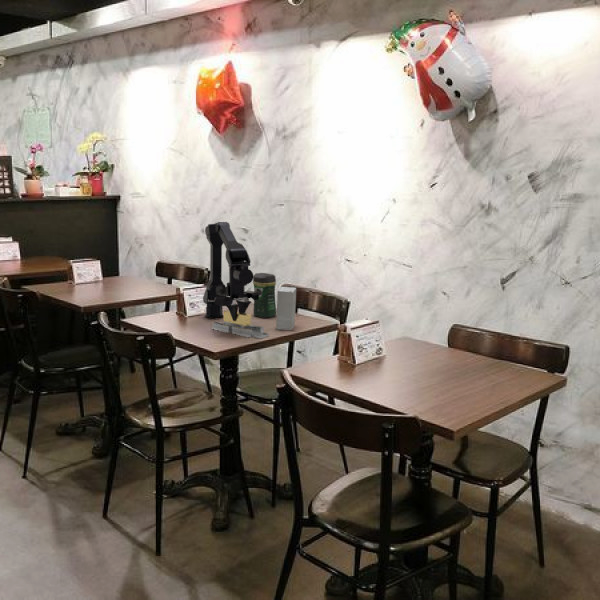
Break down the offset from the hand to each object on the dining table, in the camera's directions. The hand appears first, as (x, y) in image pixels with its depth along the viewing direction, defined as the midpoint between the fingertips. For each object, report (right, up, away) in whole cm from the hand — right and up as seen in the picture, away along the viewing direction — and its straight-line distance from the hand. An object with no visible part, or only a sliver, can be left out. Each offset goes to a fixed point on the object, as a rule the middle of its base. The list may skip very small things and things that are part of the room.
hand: (237, 320), depth 252 cm
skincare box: (+19, -3, +7) cm, 20 cm away
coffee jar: (+9, +1, +28) cm, 30 cm away
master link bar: (0, -1, 0) cm, 1 cm away
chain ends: (+2, -5, 0) cm, 5 cm away
